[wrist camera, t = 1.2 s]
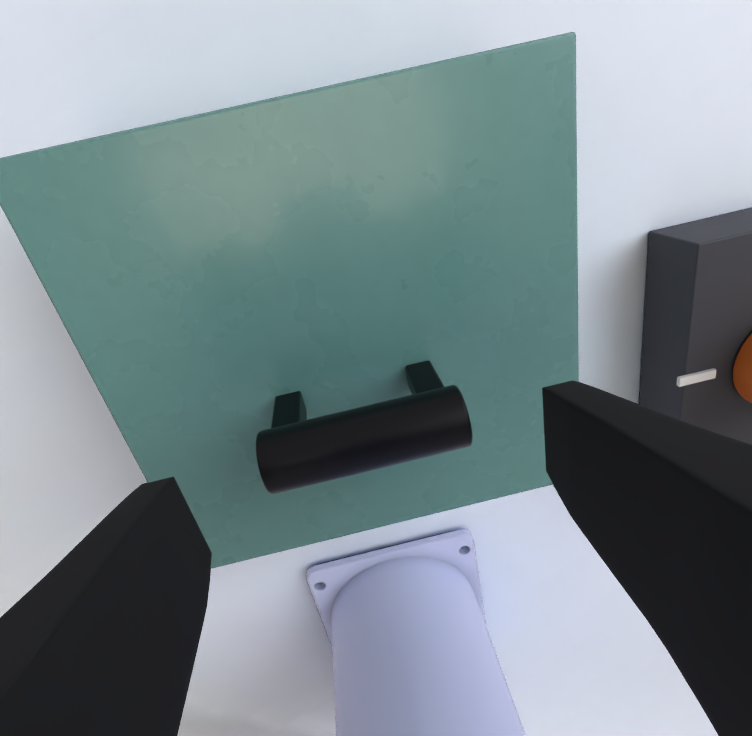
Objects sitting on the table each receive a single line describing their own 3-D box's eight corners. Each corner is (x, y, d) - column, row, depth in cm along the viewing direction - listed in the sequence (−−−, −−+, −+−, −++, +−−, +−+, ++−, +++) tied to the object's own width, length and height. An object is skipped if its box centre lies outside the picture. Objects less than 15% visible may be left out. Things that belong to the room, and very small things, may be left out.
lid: (571, 466, 15) (642, 554, 12) (199, 558, 15) (167, 674, 12) (563, 36, 10) (684, -16, 7) (-6, 162, 10) (-165, 170, 7)
